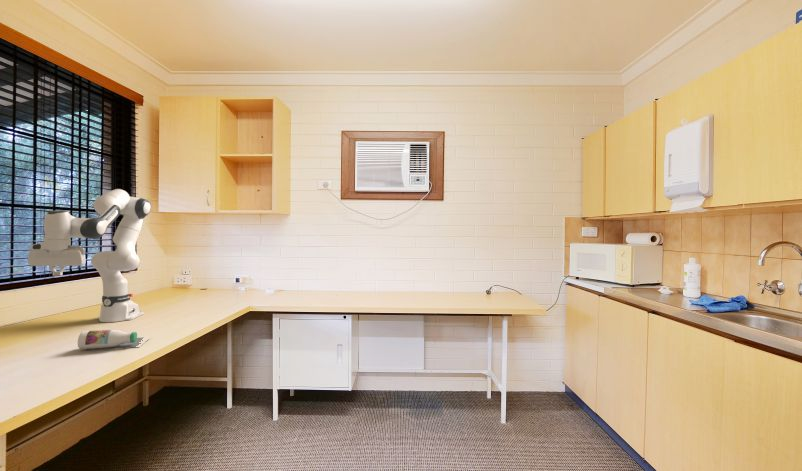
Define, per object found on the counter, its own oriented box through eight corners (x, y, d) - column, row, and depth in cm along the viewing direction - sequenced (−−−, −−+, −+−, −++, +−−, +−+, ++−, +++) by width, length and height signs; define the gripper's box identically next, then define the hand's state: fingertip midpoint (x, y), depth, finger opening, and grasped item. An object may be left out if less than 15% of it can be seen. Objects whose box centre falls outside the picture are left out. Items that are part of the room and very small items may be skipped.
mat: (86, 350, 155) (86, 349, 155) (103, 340, 169) (103, 339, 169) (139, 347, 161) (139, 346, 160) (151, 337, 174) (151, 337, 174)
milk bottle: (87, 338, 161) (139, 335, 168) (79, 353, 155) (134, 349, 162) (82, 327, 157) (136, 324, 163) (75, 341, 151) (131, 338, 158)
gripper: (88, 245, 169) (88, 274, 169) (35, 244, 163) (35, 274, 164) (80, 246, 162) (80, 276, 163) (25, 245, 157) (25, 276, 157)
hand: (57, 275), depth 163 cm, fingers closed
